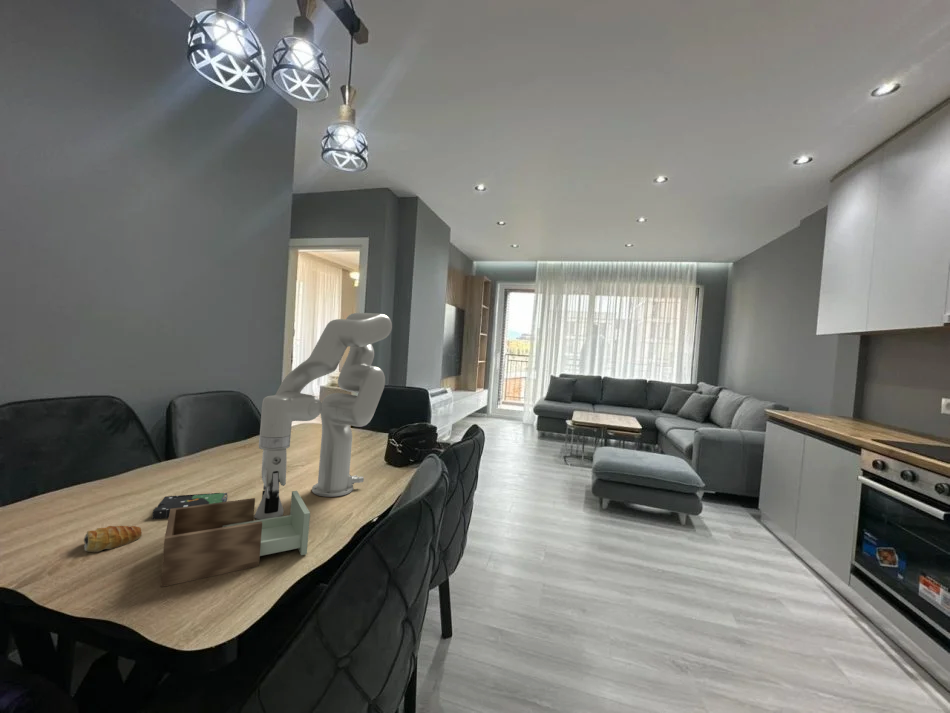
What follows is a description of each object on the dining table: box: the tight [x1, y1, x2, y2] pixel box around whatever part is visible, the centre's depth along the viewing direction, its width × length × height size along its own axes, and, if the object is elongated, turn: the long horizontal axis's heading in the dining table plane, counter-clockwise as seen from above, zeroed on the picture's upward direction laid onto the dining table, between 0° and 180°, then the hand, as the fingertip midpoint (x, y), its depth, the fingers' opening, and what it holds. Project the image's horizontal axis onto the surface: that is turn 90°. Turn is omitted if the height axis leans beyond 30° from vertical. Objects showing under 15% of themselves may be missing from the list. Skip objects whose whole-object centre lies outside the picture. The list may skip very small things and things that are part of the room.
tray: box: [223, 490, 311, 557], centre depth 88 cm, size 16×15×9 cm
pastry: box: [83, 525, 143, 553], centre depth 85 cm, size 9×7×4 cm
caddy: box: [160, 497, 262, 588], centre depth 82 cm, size 16×15×9 cm
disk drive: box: [151, 492, 228, 520], centre depth 104 cm, size 10×3×15 cm
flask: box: [254, 484, 285, 520], centre depth 104 cm, size 7×7×10 cm
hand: (269, 507), depth 104 cm, fingers closed on flask, 5 cm apart
